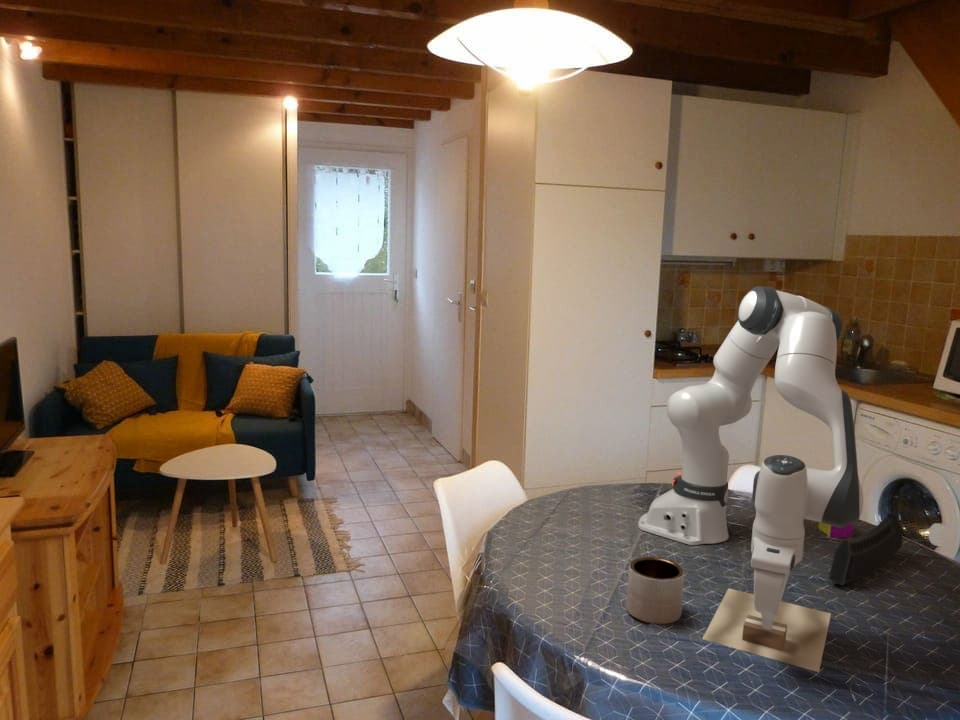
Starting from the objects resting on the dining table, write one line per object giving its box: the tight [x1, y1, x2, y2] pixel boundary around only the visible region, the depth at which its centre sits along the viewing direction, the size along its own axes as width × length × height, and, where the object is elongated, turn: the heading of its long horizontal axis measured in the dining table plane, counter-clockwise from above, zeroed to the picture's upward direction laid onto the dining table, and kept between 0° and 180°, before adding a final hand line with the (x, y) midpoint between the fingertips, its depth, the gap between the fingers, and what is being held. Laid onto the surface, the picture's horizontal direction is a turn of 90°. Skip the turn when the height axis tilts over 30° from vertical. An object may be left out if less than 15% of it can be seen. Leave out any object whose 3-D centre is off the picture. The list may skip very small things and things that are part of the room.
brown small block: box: [742, 615, 787, 651], centre depth 138 cm, size 7×4×3 cm, turn 60°
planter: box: [625, 556, 685, 625], centre depth 148 cm, size 11×11×10 cm
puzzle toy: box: [818, 522, 854, 538], centre depth 192 cm, size 6×6×6 cm
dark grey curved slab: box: [828, 512, 903, 586], centre depth 170 cm, size 17×3×30 cm
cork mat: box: [701, 588, 832, 673], centre depth 144 cm, size 20×24×1 cm
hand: (770, 616), depth 137 cm, fingers open, 8 cm apart
